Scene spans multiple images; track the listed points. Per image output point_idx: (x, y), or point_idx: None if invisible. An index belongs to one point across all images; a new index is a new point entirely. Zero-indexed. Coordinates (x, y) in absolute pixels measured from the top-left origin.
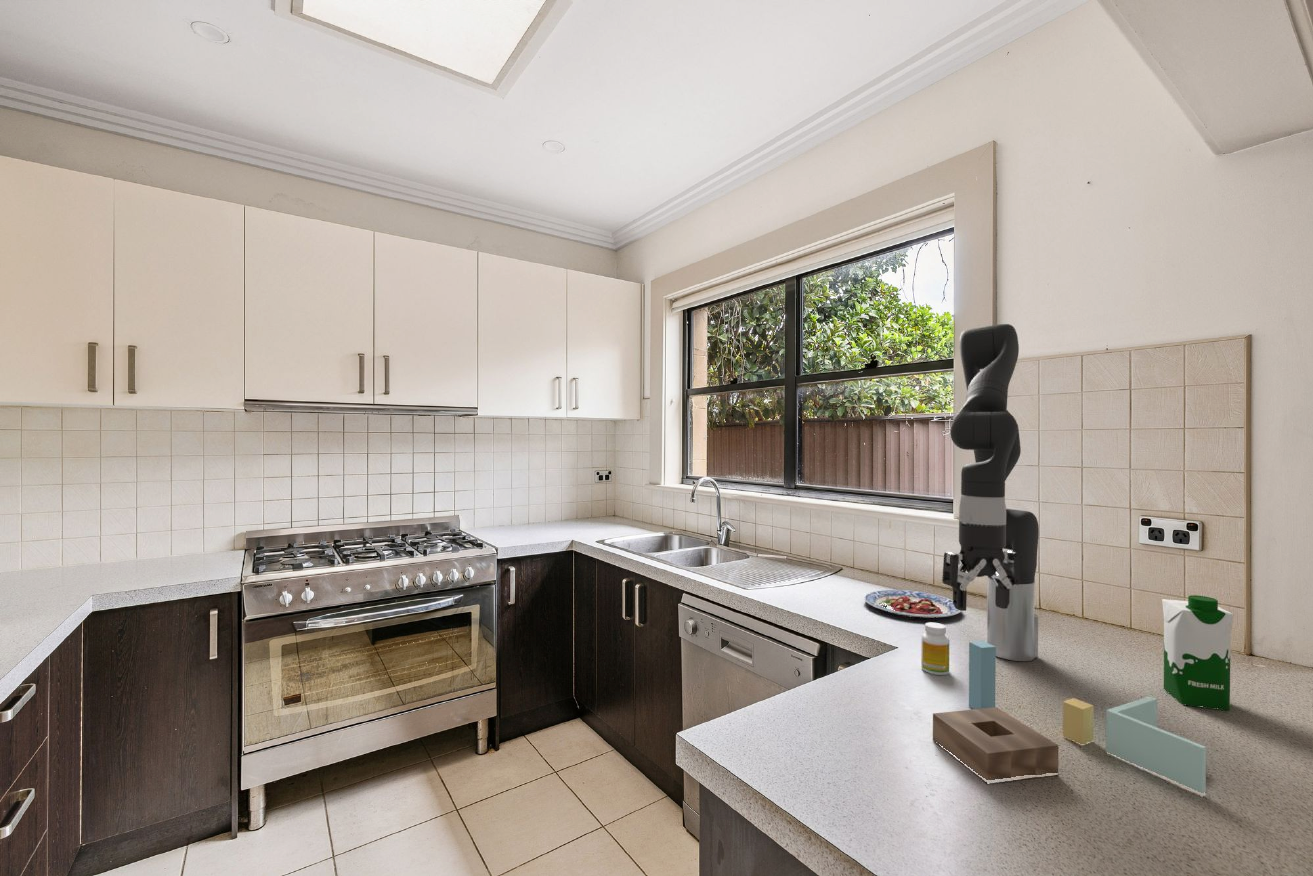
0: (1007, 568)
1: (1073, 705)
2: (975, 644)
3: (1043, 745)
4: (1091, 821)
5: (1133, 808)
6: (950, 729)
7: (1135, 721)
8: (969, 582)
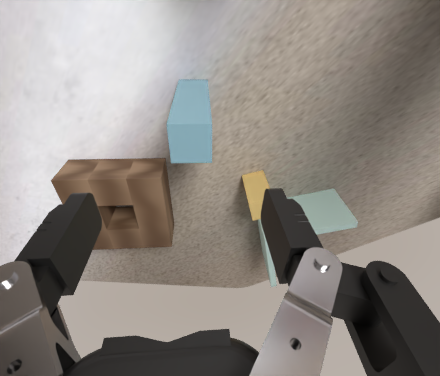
0: (400, 370)
1: (251, 212)
2: (171, 143)
3: (155, 245)
4: (154, 260)
5: (198, 254)
6: None
7: (267, 257)
8: (70, 340)
